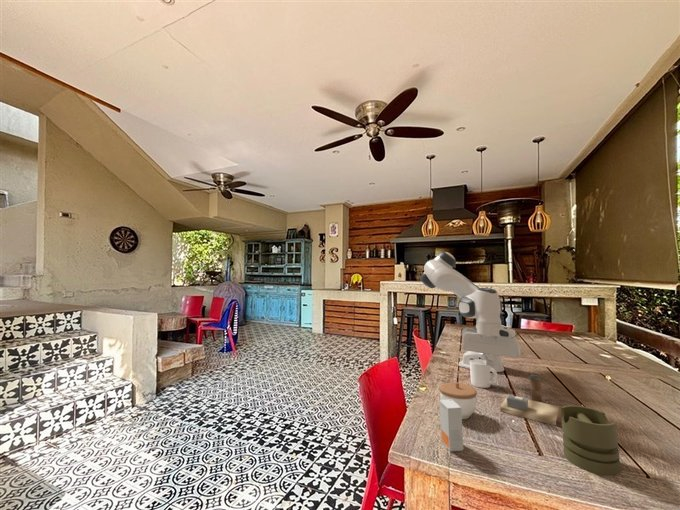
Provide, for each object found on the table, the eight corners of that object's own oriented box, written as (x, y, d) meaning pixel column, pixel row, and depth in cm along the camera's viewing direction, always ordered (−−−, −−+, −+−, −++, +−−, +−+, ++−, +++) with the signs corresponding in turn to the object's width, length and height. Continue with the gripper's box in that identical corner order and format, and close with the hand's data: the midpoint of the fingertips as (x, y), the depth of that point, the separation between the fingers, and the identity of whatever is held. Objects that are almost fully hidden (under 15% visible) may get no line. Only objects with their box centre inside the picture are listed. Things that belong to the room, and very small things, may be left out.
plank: (500, 411, 105) (500, 406, 105) (508, 398, 116) (508, 395, 116) (586, 433, 90) (585, 428, 90) (586, 416, 100) (585, 412, 100)
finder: (507, 406, 106) (506, 397, 106) (509, 403, 109) (509, 394, 109) (526, 411, 102) (525, 401, 102) (528, 407, 105) (527, 398, 105)
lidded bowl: (461, 426, 95) (459, 392, 96) (432, 411, 106) (431, 380, 107) (485, 417, 101) (484, 385, 102) (456, 404, 112) (455, 374, 113)
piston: (603, 408, 81) (625, 428, 70) (606, 453, 80) (630, 480, 69) (554, 403, 85) (569, 421, 74) (557, 445, 84) (573, 470, 73)
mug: (502, 387, 128) (501, 364, 128) (494, 392, 123) (492, 367, 123) (476, 380, 137) (475, 358, 138) (467, 384, 132) (466, 361, 133)
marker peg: (530, 401, 114) (528, 376, 114) (531, 398, 116) (530, 373, 117) (541, 403, 111) (539, 378, 112) (542, 400, 114) (541, 375, 115)
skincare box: (440, 440, 87) (438, 399, 88) (453, 439, 88) (452, 398, 89) (449, 452, 81) (447, 408, 82) (464, 451, 82) (462, 407, 82)
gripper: (459, 327, 117) (460, 362, 116) (516, 333, 104) (519, 372, 103) (464, 325, 122) (465, 359, 121) (520, 331, 109) (522, 368, 107)
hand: (490, 365), depth 112 cm, fingers closed
